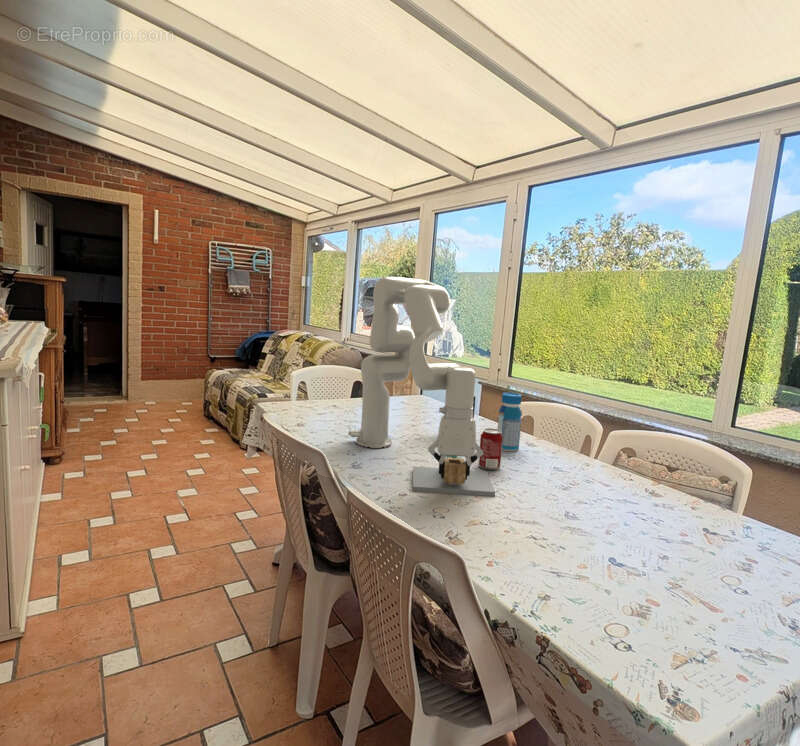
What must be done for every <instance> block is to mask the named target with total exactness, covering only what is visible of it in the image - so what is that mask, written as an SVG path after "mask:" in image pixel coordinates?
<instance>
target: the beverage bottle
mask: <svg viewBox="0 0 800 746" xmlns="http://www.w3.org/2000/svg"><path fill="white" fill-rule="evenodd" d="M522 398H523V397H522V395H521V393H516V392H503V393H502V396H501V403H502V405H501V406H500V408H499V410H498V417H497V427H496V429H498V430H500V431H501V435H502V437H503V439H502V450H501V451H504V452H517V451H518V450H520V438H521V430H522V428H521V427H522V421H523V419H522V415H523V412H522V409H521V404H522Z"/></svg>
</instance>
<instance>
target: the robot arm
mask: <svg viewBox="0 0 800 746" xmlns="http://www.w3.org/2000/svg"><path fill="white" fill-rule="evenodd" d="M372 297H373V299H372V300H373V307H374V308H373V316H372V323H371V330H370V335H369V336H370V337H369V346H370V348H371V350H373V351H374V352H377V353H394V354H372V355H371V354H370V355H368V356H366V357H365V358H363V359H362V361H361V364H360V373H361V378H362V379H361V381H362V403H361V404H362V405H361V406H362V407H361V423H360V424H361V427H360V429H357V430H353V429H352V430H351V429H349V430H348V436H350V437H351V438H356V440H355V443H356V442H357V443H358V444H359V445H358V444H357V443H356V444H357V445H358V446H360V445H361V446H360V447H363V446H365V447H364V448H367V447H370V448H369V449H383V448H382V447H384V448H388V447H390V446H392V441H393V440H392V439H391V438H390V437H389V434H388V433H389V422H390V421H389V419H390V417H389V416H390V415H389V414H390V400H391V399H390V398H391V397H390V391H389V389H388V388H387V386H386V384H385V383H388V382H389V383H390V382H402V381H405V380H406V379H407V378H408V377H409V374H410V372H411V374H412V378H413V382H414V383H415V385H416V386H417V387H418V388H419V389H420V390H422V391H442V390H443V391H445V397H444V399H445V400H444V406H442V407H439V409H438V413H440V414H441V413H442V414H443V415H442V416H441V418H440V421H439V428H438V433H437V439H435V441H433V442H432V444H430V445H429V446H428V448H427V452H429V453H430V455H432V456H433V458H434V459H435V460H436V461H437V462H438V468H439V474H441V478H444V469H445V464H444V460H445V458H446V455H448V456H461V457H464V460H465V463H466V475H465V480H467V476H469V474H470V470H471V466H472V464H474V463H475V462H476V461H477V460H479V457H481V456H482V455H483V454H484V453H483V451H482V449H481V448H480V445H479V444H478V443H477V442H476V441H477V426H476V419H475V417H474V418H472V413H473V401H474V396H475V387H476V386H475V385H476V372H475V370H474V369H473V368H472V367H467V366H461V365H459V364H458V363H454V362H428V359H427V357H426V354H425V344H427V343H428V342H431V341H433V340H435V339H436V338H438V337H440V336H441V335H442V333H443V331H444V327H443V324H442V322H441V317H440V316H439V315H441V314H442V315H443V314H444V313H446V312H447V311H448V310H449V308H450V305H451V300H450V299H451V297H450V295H449V293H448V290H446V289H445V288H444V286H441V285H439V284H436V283H433V282H431V281H429V280H425V279H419V278H412V277H411V278H410V277H401V276H385V277H382V278H379V279H378V280H377V282H375V284H374V288H373V295H372ZM397 305H405V308H406V312H407V315H408V318H409V320H410V321H409V322H410V324H411V327H412V328H411V327H410V326H408V325H406V324H405V325H404V324H398V323H399V318H400V311H399V308H398V306H397ZM387 446H388V447H387ZM435 449H437V451H436V450H435Z"/></svg>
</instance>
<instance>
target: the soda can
mask: <svg viewBox="0 0 800 746" xmlns="http://www.w3.org/2000/svg"><path fill="white" fill-rule="evenodd" d="M502 439H503V437H502V435H501V431H500V430H498V429H497V428H491V427H490V428H484V429H483V430H482V433H481V434H480V438H479V447H480V448H481V449H482V451H483V453H484V454H483V455H482V456H481V457H479V458H478V462H477V463H478V466H479V467H480V468H481V469H483V470H485V471H486V470H487V471H496V470H497V469H500V468H501V460H502V451H503V450H502Z"/></svg>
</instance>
